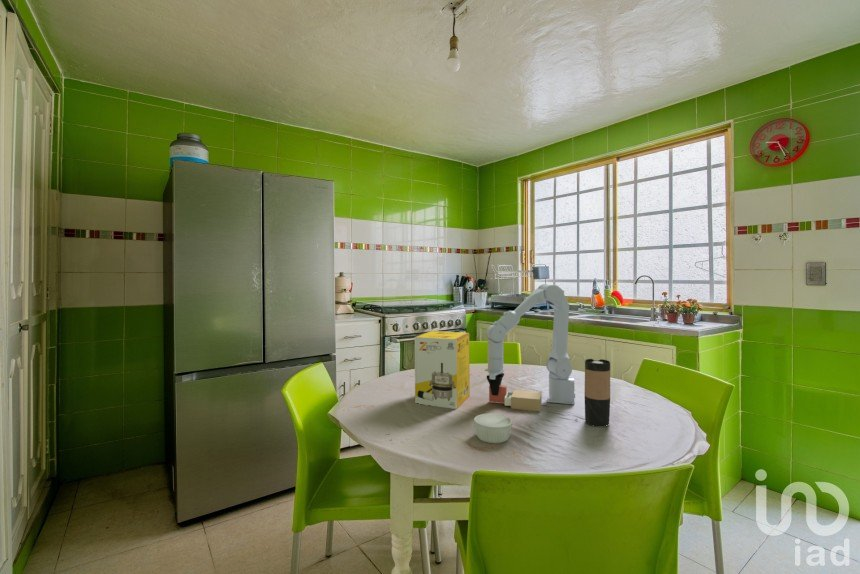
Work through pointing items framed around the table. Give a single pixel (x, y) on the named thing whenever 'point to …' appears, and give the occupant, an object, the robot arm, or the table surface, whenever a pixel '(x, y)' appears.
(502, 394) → the red and white box
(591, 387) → the travel mug
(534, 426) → the table surface
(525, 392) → the sleeve
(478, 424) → the ramekin
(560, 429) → the table surface
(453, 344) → the packaging box
